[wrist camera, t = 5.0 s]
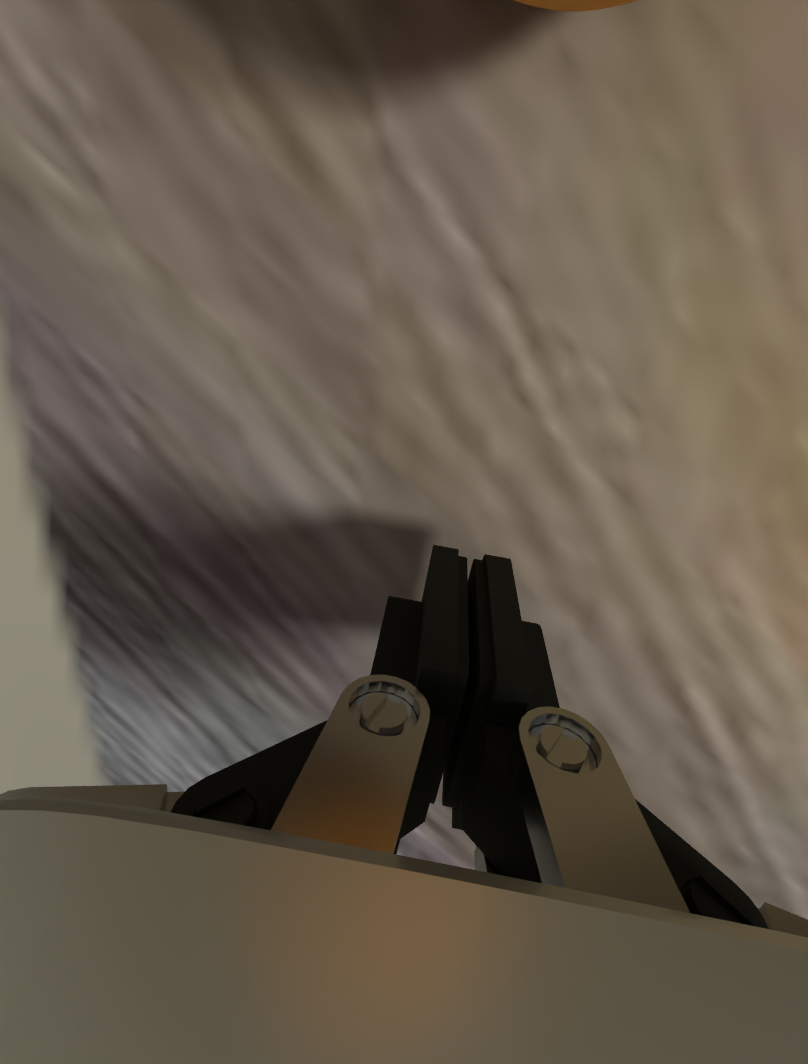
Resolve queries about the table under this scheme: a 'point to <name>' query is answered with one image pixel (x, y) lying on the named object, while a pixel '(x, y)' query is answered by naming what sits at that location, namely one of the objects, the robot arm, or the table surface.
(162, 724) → the table surface
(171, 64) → the table surface
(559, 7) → the ball
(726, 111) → the table surface
